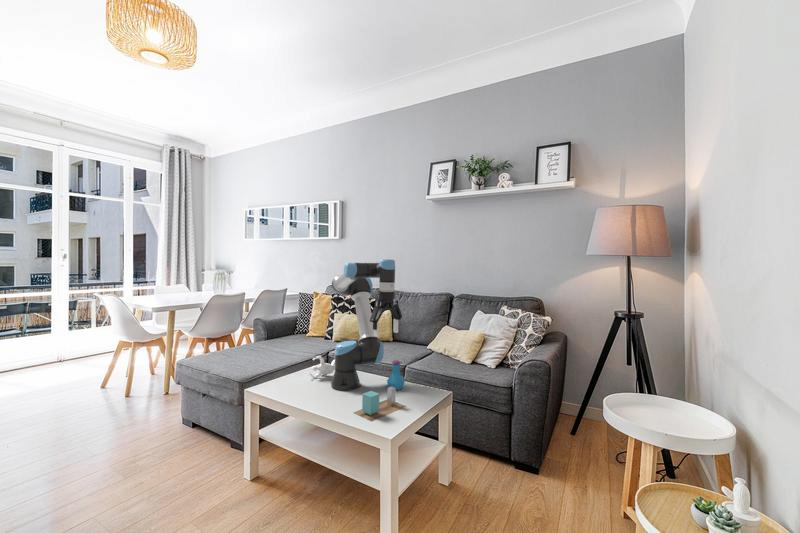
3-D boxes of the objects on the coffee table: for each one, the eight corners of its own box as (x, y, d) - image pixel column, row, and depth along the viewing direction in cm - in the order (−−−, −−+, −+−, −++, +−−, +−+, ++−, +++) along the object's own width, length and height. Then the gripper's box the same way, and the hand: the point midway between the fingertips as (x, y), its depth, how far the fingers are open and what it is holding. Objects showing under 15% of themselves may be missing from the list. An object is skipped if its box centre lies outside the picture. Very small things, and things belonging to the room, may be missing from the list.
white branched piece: (327, 352, 222) (313, 354, 205) (346, 359, 218) (332, 362, 201) (321, 373, 221) (306, 377, 204) (339, 380, 217) (325, 385, 200)
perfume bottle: (402, 393, 186) (403, 364, 186) (385, 391, 188) (385, 363, 187) (405, 387, 195) (406, 359, 195) (389, 385, 197) (389, 358, 196)
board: (352, 415, 159) (352, 412, 159) (388, 401, 176) (388, 399, 176) (371, 423, 151) (371, 421, 151) (406, 408, 167) (406, 406, 167)
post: (387, 405, 168) (387, 387, 168) (391, 403, 170) (391, 386, 170) (391, 406, 167) (391, 389, 167) (395, 405, 169) (395, 387, 168)
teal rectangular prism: (362, 411, 159) (362, 393, 159) (370, 407, 163) (371, 390, 162) (370, 414, 155) (370, 397, 155) (379, 411, 159) (379, 393, 159)
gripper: (373, 293, 165) (372, 339, 166) (409, 290, 184) (408, 332, 184) (362, 291, 171) (361, 336, 171) (398, 289, 189) (397, 329, 189)
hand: (386, 334), depth 178 cm, fingers open, 13 cm apart
